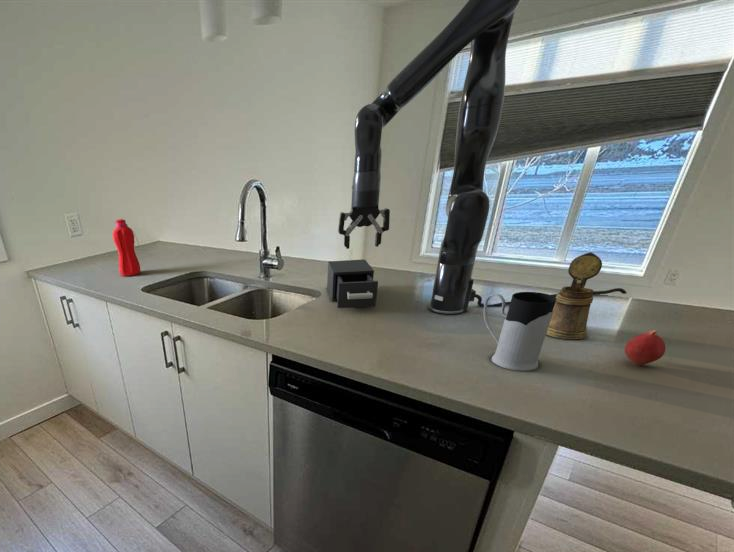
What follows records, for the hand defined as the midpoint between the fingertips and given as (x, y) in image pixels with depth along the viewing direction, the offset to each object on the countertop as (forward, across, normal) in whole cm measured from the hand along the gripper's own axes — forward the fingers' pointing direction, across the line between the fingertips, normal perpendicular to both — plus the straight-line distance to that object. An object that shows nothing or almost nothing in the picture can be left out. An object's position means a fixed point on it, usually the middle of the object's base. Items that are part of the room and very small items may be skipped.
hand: (362, 247), depth 122 cm
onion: (+20, +50, -45) cm, 70 cm away
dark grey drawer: (+17, -1, 0) cm, 17 cm away
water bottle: (+16, -97, +58) cm, 114 cm away
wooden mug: (+19, +47, -25) cm, 56 cm away
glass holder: (+19, +26, -40) cm, 52 cm away
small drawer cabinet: (+18, -2, +12) cm, 22 cm away
